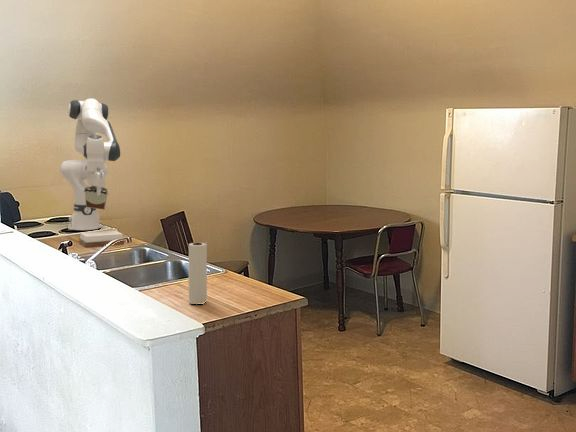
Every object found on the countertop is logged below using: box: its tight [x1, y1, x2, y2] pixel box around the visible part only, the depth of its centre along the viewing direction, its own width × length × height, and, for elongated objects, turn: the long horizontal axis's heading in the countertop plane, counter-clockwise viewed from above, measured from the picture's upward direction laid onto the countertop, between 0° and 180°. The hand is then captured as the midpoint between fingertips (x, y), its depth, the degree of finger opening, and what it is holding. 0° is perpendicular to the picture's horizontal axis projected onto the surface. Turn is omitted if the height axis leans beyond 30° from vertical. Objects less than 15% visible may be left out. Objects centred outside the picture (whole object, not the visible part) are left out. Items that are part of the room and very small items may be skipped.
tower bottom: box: [78, 238, 125, 249], centre depth 337 cm, size 13×19×3 cm
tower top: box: [79, 229, 124, 243], centre depth 337 cm, size 12×18×3 cm, turn 121°
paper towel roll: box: [188, 242, 208, 305], centre depth 233 cm, size 7×6×21 cm
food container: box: [84, 185, 109, 211], centre depth 340 cm, size 12×6×10 cm, turn 89°
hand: (96, 195), depth 339 cm, fingers closed on food container, 6 cm apart
